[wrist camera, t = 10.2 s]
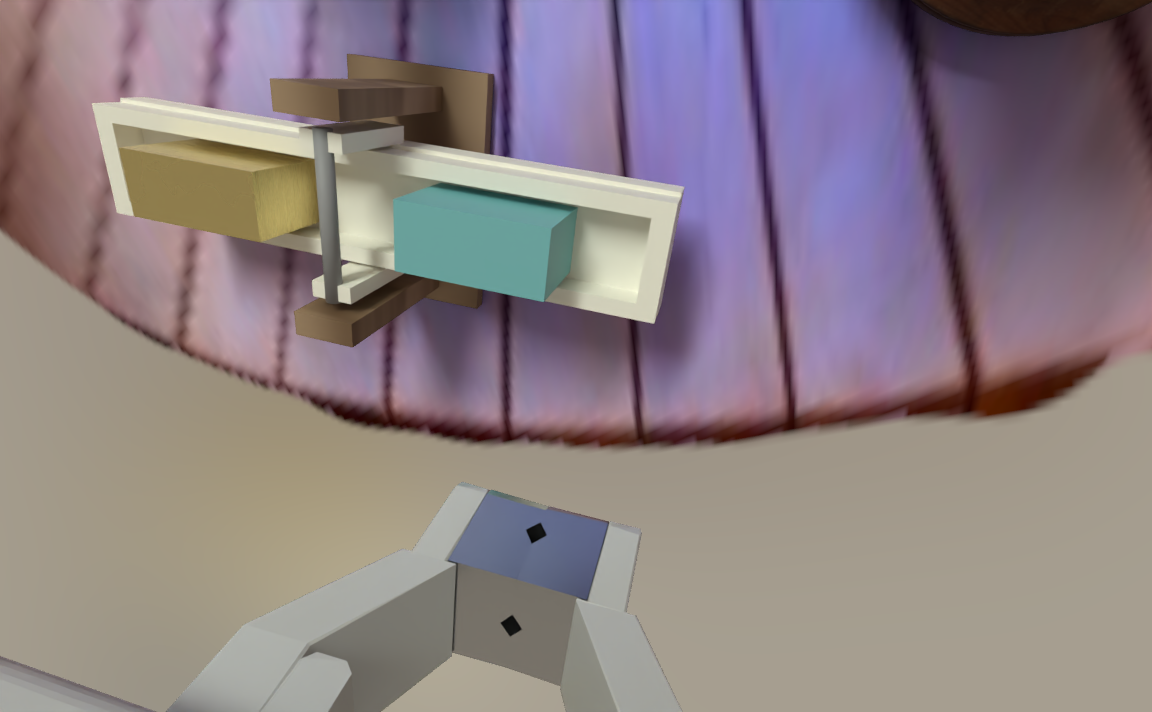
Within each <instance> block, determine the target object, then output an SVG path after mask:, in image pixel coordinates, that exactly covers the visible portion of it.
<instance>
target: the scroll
mask: <svg viewBox="0 0 1152 712" xmlns="http://www.w3.org/2000/svg"><path fill="white" fill-rule="evenodd" d="M911 1H912V2H914V3H915V4H916V5H918V6H919V7H920V8H921V9H923V10H924V11H926V12H928V13H929V14H931V15H932V16H934V17H936V18H937V19H940V20H942V21H944V22H946V23H949V24H951V25H953V26H956V27H959V28H962V29H965V30H969V31H972V32H978V33H983V34H988V35H998V36H1034V35H1043V34H1051V33H1056V32H1063V31H1068V30H1073V29H1078V28H1083V27H1087V26H1090V25H1094V24H1097V23H1100V22H1104V21H1107V20H1110V19H1113V18H1115V17H1118V16H1121V15H1123V14H1126V13H1129V12H1131V11H1134V10H1136V9H1138V8H1140V7H1142V6H1144V5H1146V4H1149V3H1151V2H1152V0H911Z"/></svg>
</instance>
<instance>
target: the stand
mask: <svg viewBox="0 0 1152 712" xmlns="http://www.w3.org/2000/svg"><path fill="white" fill-rule="evenodd" d="M347 66H348V79H270V86H271V96H272V106H273V111H275V112H281V113H287V114H293V115H299V116H306V117H312V118H318V119H324V120H330V121H336V122H346V121H350V122H352V121H361V120H371V121H377V122H383V123H389V124H395V125H401V126H404V140H406V141H412V142H418V143H424V144H430V145H436V146H442V147H448V148H454V149H460V150H466V151H472V152H478V153H484V154H490V136H491V116H492V97H493V77H494V74H488V73H481V72H474V71H467V70H460V69H453V68H446V67H439V66H432V65H425V64H418V63H411V62H404V61H397V60H390V59H383V58H376V57H369V56H362V55H355V54H347ZM482 292H483V289H478V288H474V287H469V286H464V285H459V284H454V283H449V282H445V281H440V280H435V279H430V278H425V277H421V276H416V275H411V274H406V273H404V274H402V275H400V276H399V277H397V278H395V279H394V280H392V281H390V282H388V283H387V284H385V285H383V286H382V287H380V288H378V289H376V290H375V291H373V292H371V293H370V294H368V295H366V296H364V297H363V298H361V299H359V300H358V301H356V302H354V303H353V304H347V303H339V304H329V303H327V302H326V300H325V299H324V298H319V299H317V300H315V301H313V302H311V303H309V304H307V305H305V306H303V307H301V308H300V309H298V310H296V311H294V315H295V325H296V334H297V335H302V336H306V337H310V338H314V339H319V340H323V341H327V342H332V343H336V344H340V345H345V346H349V347H354V346H356V345H357V344H358V343H360V342H361V341H363V340H364V339H366V338H367V337H368V336H370V335H371V334H373V333H374V332H376V331H377V330H378V329H380V328H381V327H383V326H384V325H386V324H387V323H388V322H390V321H391V320H393V319H394V318H396V317H397V316H398V315H400V314H401V313H403V312H404V311H406V310H407V309H408V308H410V307H411V306H413V305H414V304H416V303H417V302H418V301H420V300H421V299H423V298H429V299H433V300H438V301H443V302H448V303H452V304H457V305H462V306H466V307H471V308H476V309H477V308H478V307H479V306H481V305H482Z"/></svg>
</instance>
